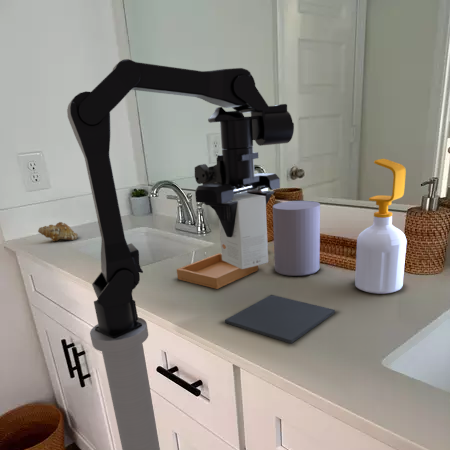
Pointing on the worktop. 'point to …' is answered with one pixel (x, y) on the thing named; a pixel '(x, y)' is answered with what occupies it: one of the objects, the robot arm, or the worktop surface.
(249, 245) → the small box
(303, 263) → the container
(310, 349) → the worktop surface
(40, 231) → the seashell
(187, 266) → the tray
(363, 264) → the soap bottle
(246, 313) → the mat
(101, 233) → the robot arm
